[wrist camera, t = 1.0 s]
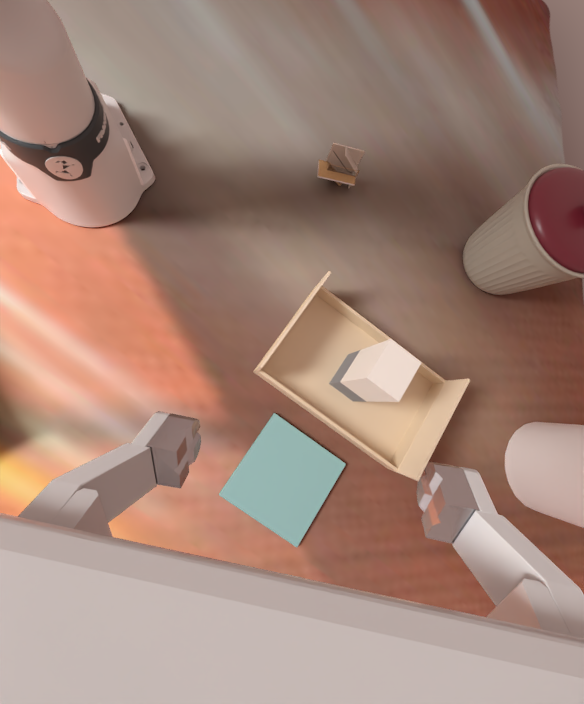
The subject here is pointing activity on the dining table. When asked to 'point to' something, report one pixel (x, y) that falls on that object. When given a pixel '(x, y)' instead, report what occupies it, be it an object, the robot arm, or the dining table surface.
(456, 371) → the dining table surface
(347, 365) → the box
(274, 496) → the mat
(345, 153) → the architectural model
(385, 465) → the beige open box
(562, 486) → the canister
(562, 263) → the canister
